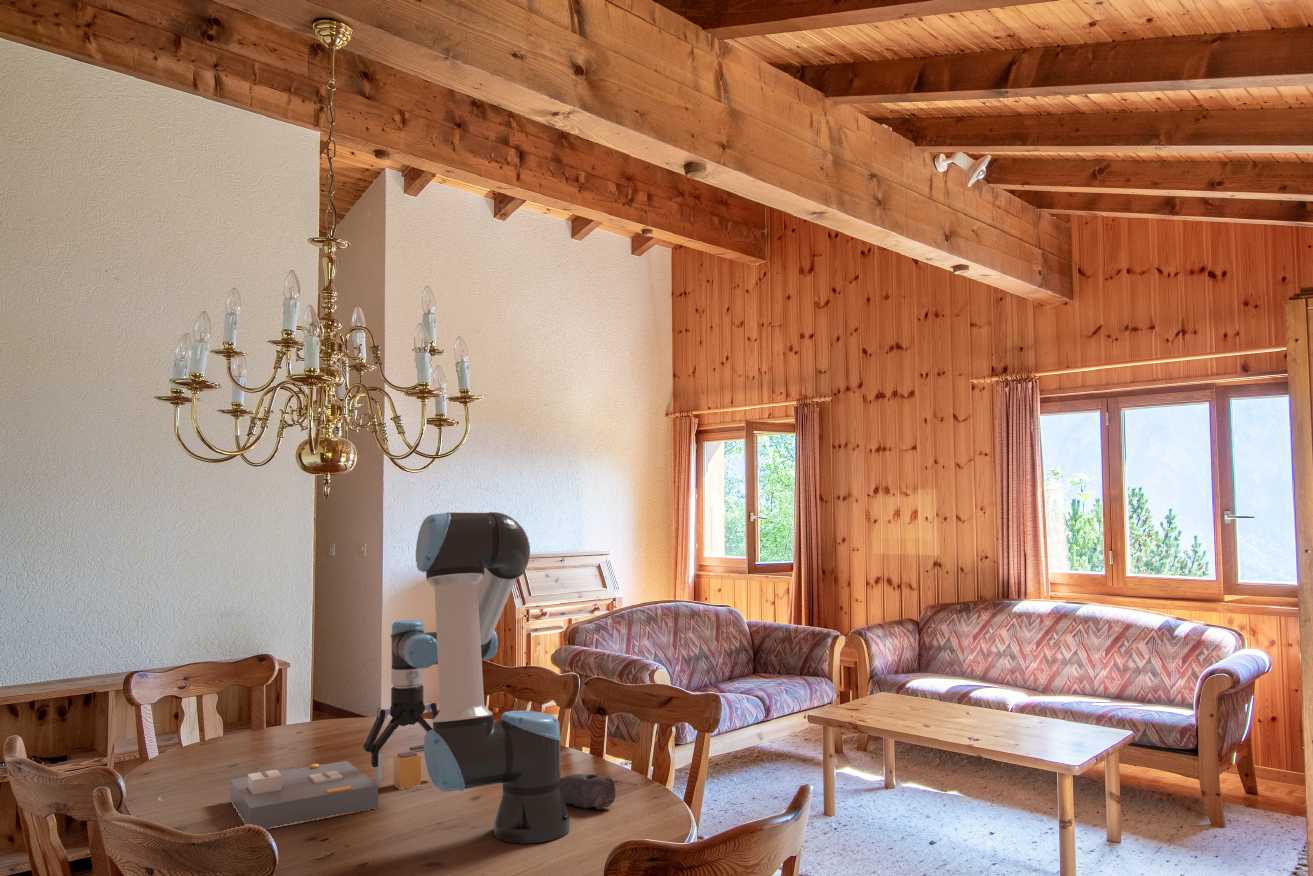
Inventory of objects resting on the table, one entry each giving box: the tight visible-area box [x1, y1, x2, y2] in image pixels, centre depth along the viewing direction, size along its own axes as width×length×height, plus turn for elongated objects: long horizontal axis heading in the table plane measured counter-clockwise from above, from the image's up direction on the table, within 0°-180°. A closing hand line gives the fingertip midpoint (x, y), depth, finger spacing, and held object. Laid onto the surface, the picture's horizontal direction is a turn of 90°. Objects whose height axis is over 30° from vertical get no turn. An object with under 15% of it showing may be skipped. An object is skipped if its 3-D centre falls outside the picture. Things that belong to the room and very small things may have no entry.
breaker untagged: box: [247, 769, 282, 795], centre depth 199 cm, size 6×6×5 cm
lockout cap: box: [393, 750, 422, 790], centre depth 217 cm, size 5×5×7 cm
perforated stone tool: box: [561, 773, 616, 810], centre depth 198 cm, size 15×5×7 cm, turn 56°
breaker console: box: [229, 760, 379, 831], centre depth 203 cm, size 26×26×6 cm
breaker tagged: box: [309, 771, 343, 784], centre depth 206 cm, size 6×6×5 cm
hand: (406, 775), depth 217 cm, fingers open, 13 cm apart
